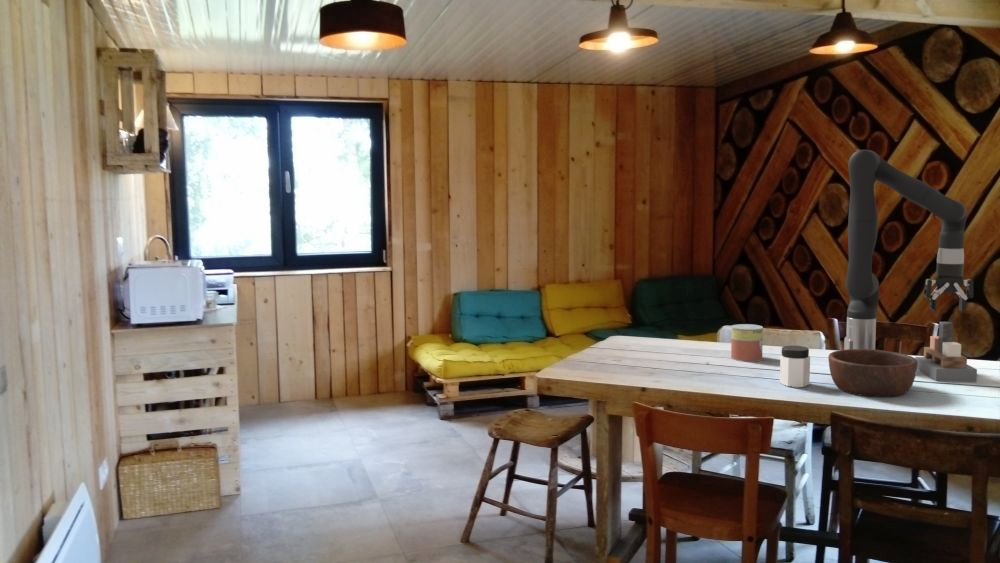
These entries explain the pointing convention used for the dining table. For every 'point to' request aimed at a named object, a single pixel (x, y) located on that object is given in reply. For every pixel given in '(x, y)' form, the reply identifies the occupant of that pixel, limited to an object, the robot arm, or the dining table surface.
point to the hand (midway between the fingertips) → (947, 310)
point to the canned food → (746, 342)
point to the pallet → (945, 359)
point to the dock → (945, 371)
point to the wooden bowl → (872, 372)
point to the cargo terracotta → (934, 342)
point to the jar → (795, 366)
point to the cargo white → (951, 349)
